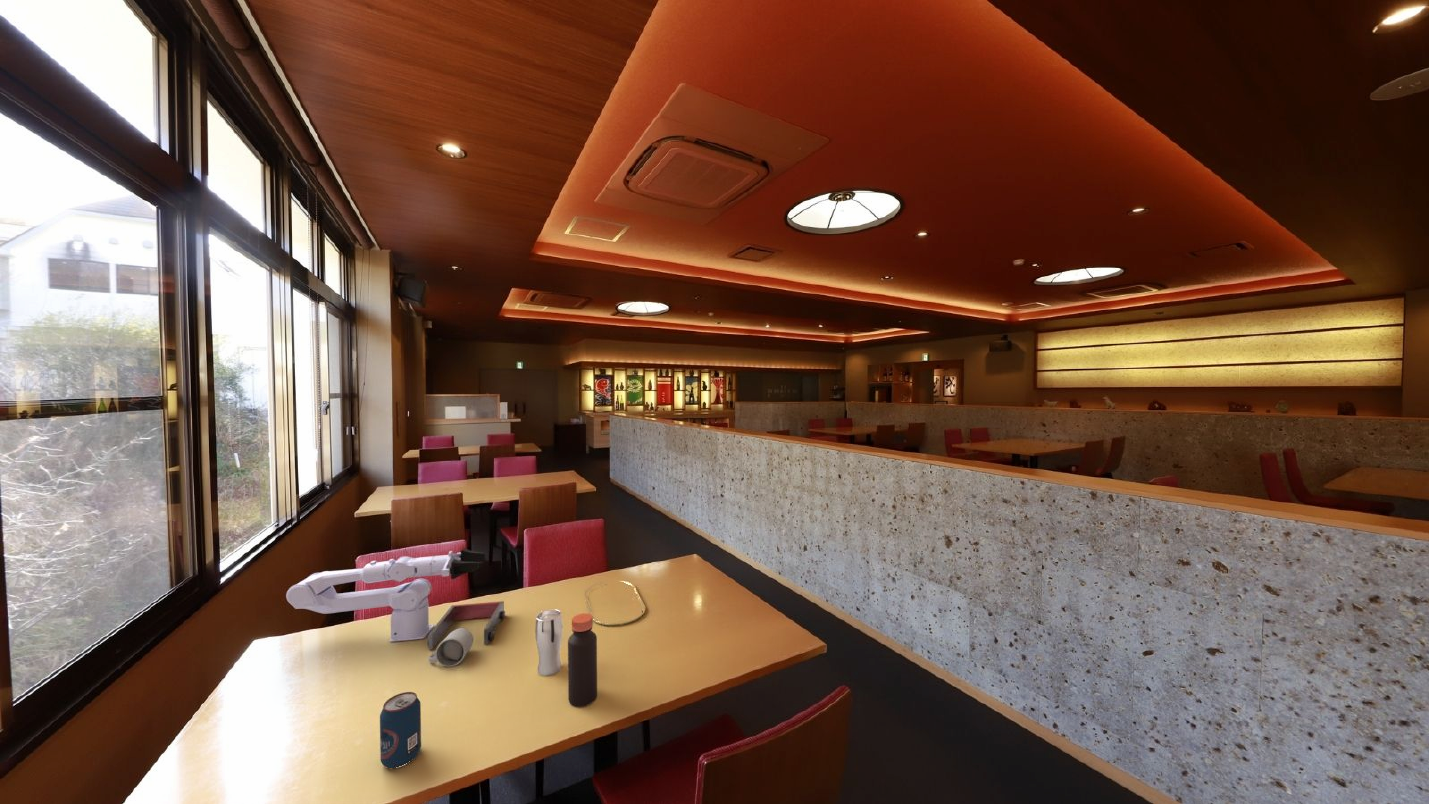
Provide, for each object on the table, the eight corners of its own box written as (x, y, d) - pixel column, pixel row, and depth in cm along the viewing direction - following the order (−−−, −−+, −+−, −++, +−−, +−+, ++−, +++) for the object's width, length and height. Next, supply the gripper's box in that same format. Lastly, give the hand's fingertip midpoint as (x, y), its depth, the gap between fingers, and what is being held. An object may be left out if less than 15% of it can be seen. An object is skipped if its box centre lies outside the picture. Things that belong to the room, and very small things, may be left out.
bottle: (573, 689, 117) (573, 611, 116) (600, 689, 117) (599, 611, 116) (564, 707, 110) (563, 624, 110) (592, 708, 110) (591, 625, 109)
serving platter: (592, 633, 145) (592, 628, 145) (581, 588, 177) (581, 584, 177) (651, 622, 152) (651, 617, 152) (630, 581, 184) (630, 577, 184)
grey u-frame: (425, 650, 134) (425, 634, 134) (449, 619, 152) (449, 605, 152) (490, 643, 137) (490, 628, 137) (506, 614, 155) (506, 601, 155)
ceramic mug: (475, 649, 135) (474, 623, 135) (465, 665, 127) (464, 638, 127) (435, 653, 133) (434, 627, 133) (423, 670, 125) (422, 642, 125)
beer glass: (557, 677, 122) (557, 621, 121) (531, 677, 122) (530, 621, 121) (566, 661, 129) (566, 608, 128) (541, 661, 129) (541, 608, 128)
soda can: (372, 766, 93) (371, 707, 93) (406, 741, 99) (405, 686, 99) (396, 776, 90) (395, 716, 90) (429, 750, 97) (428, 694, 97)
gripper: (424, 562, 137) (474, 557, 140) (442, 544, 151) (487, 540, 154) (425, 585, 137) (475, 580, 140) (443, 565, 151) (488, 561, 154)
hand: (481, 561), depth 147 cm, fingers open, 7 cm apart
